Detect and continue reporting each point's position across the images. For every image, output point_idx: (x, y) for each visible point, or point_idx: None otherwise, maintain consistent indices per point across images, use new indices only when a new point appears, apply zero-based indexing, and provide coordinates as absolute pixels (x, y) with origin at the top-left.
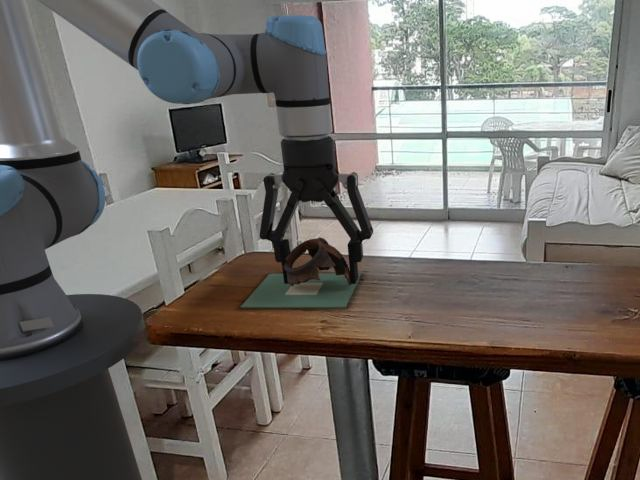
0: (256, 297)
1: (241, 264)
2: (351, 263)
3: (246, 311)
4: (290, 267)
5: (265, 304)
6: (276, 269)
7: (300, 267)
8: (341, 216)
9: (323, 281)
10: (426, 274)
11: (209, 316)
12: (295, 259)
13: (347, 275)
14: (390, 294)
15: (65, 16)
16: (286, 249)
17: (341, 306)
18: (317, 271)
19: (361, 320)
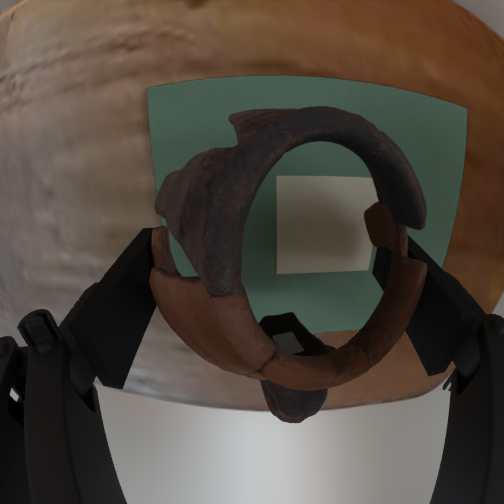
0: (448, 167)
1: None
2: (119, 268)
3: (448, 86)
4: (396, 237)
5: (417, 109)
6: (405, 346)
7: (341, 122)
8: (46, 485)
9: (278, 284)
10: (57, 322)
11: (500, 82)
12: (384, 292)
13: (152, 234)
14: (66, 211)
15: None
16: (434, 316)
17: (159, 88)
18: (236, 125)
19: (93, 33)
